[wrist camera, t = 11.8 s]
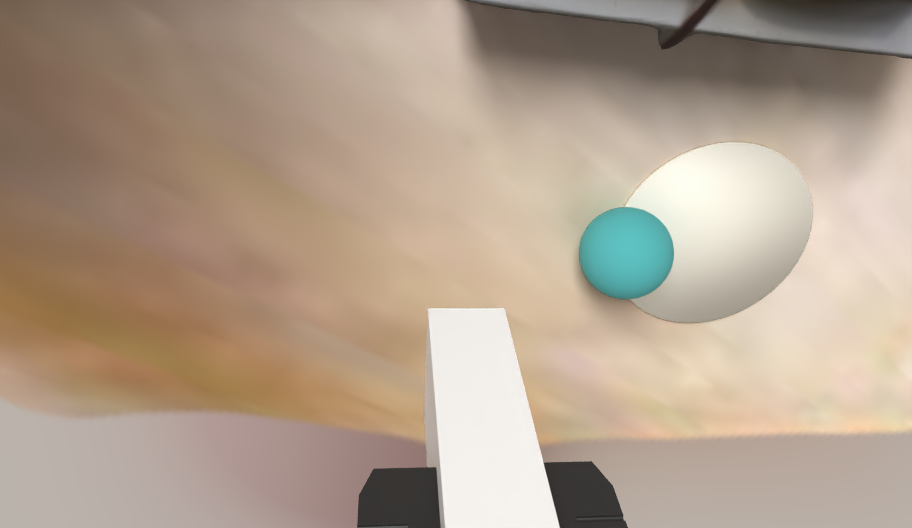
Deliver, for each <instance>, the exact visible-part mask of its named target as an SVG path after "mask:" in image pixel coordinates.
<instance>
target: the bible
mask: <svg viewBox="0 0 912 528" xmlns="http://www.w3.org/2000/svg"><path fill="white" fill-rule="evenodd" d="M466 1H469V2H474V3H479V4H483V5H489V6H496V7H501V8H506V9H515V10H523V11H530V12H537V13H550V14H558V15H565V16H572V17H580V18H588V19H594V20H601V21H613V22H620V23H633V24H640V25H646V26H650V27H654V28H656V29H658V39H659V45H660V46H661V50H662V49H668V48H670V47H672V46H674V45H676V44H678V43H679V42H681V41H682V40H684V39H685V38H687V37H689V36H691V35H693V34H709V35H716V36H724V37H731V38H738V39H745V40H752V41H757V42H764V43H774V44H784V45H794V46H804V47H813V48H823V49H832V50H841V51H851V52H860V53H870V54H879V55H891V56H897V57H901V58H911V59H912V0H466Z"/></svg>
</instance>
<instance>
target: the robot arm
mask: <svg viewBox="0 0 912 528" xmlns="http://www.w3.org/2000/svg"><path fill="white" fill-rule="evenodd" d="M424 420H425V438H426V453H427V454H426V455H427V468H389V469H373V471H372V473H371V475H370V476H369V478H368V480H367V482H366V484H365V485H364V487H363V489H362V491H361V493H360V495H359V505H358V524H357V528H628V527H627V524H626V522H625V521H624V520H623V513H622V510H621V508H620V505H619V502H618V499H617V496H616V493H615V491H614V488H613V486H612V485H611V483H610V482H609V481H608V480H607V479H606V478H605V476H604V475H603V474H602V473H601V472H600V471H599V469H598V468H597V467H596V466H595V465H594V464H593V463H592V462H554V463H553V462H551V463H543V459H542V455H541V451H540V447H539V443H538V439H537V435H536V431H535V427H534V423H533V420H532V416H531V412H530V408H529V404H528V400H527V396H526V392H525V388H524V384H523V380H522V376H521V372H520V368H519V364H518V360H517V356H516V352H515V348H514V344H513V340H512V336H511V332H510V328H509V325H508V321H507V317H506V313H505V309H504V308H428V319H427V348H426V377H425V406H424Z"/></svg>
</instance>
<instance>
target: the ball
mask: <svg viewBox="0 0 912 528" xmlns="http://www.w3.org/2000/svg"><path fill="white" fill-rule="evenodd" d="M579 260H580V265H581V268H582V271H583V273H584V275H585V277H586V278H587V280H588V281H589V282H590V283H591V284H592V285H593V286H594V287H595V288H596V289H597V290H599V291H600V292H602V293H603V294H606V295H608V296H610V297H613V298H618V299H636V298H640V297H642V296H645V295H647V294H649V293H651V292H653V291H654V290H656V289H657V288H658V287H659V286H660V285H661V284H662V283H663V282H664V281H665V280H666V278H667V276H668V275H669V273H670V271H671V268H672V265H673V260H674V247H673V241H672V238H671V236H670V233H669V231H668V230H667V228H666V227H665V225H664V224H663V223H662V222H661V221H660V220H659V219H658V218H657V217H655V216H654V215H653V214H651V213H649V212H647V211H645V210H642V209H638V208H633V207H621V208H615V209H612V210H609V211H606V212H604V213H602V214H601V215H599V216H598V217H597V218H595V219H594V220H593V221H592V222H591V223H590V224H589V226H588V227H587V228H586V230H585V232H584V234H583V236H582V239H581V242H580V247H579Z"/></svg>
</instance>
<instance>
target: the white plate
mask: <svg viewBox="0 0 912 528" xmlns="http://www.w3.org/2000/svg"><path fill="white" fill-rule="evenodd" d="M624 207H633V208H638V209H642V210H645V211H647V212H649V213H651V214H653V215H654V216H655V217H657V218H658V219H659V220H660V221H661V222H662V223H663V224H664V225H665V227H666V228H667V230H668V231H669V233H670V236H671V238H672V241H673V247H674V260H673V265H672V268H671V271H670V273H669V275H668V276H667V278H666V280H665V281H664V282H663V283H662V284H661V285H660V286H659V287H658V288H657V289H656V290H654V291H653V292H651V293H649V294H647V295H645V296H642V297H640V298H636V299H630V300H631V301H632V302H633V303H634V304H635V305H636V306H637V307H639V308H640V309H642V310H643V311H645V312H646V313H649V314H651V315H653V316H655V317H658V318H661V319H664V320H668V321H674V322H685V323H694V322H705V321H711V320H716V319H719V318H723V317H726V316H729V315H732V314H734V313H737V312H739V311H741V310H743V309H745V308H747V307H749V306H751V305H753V304H754V303H756V302H757V301H759V300H761V299H762V298H763V297H765V296H766V295H767V294H769V293H770V292H771V291H772V290H773V289H775V288H776V287H777V286H778V285H779V284H780V283H781V282H782V281H783V280H784V279H785V277H786V276H787V275H788V274H789V273H790V272H791V270H792V269H793V267H794V266H795V265H796V263H797V262H798V260H799V258H800V256H801V255H802V253H803V251H804V249H805V246H806V244H807V242H808V239H809V235H810V231H811V227H812V220H813V203H812V197H811V193H810V190H809V187H808V184H807V182H806V180H805V179H804V177H803V175H802V173H801V172H800V171H799V170H798V169H797V167H796V166H795V165H794V164H793V163H792V162H791V161H789V160H788V159H787V158H786V157H785V156H783V155H781V154H780V153H778V152H776V151H775V150H772V149H770V148H767V147H765V146H762V145H758V144H753V143H747V142H721V143H715V144H709V145H705V146H702V147H699V148H695V149H693V150H690V151H688V152H685V153H683V154H681V155H679V156H677V157H675V158H674V159H672V160H670V161H668V162H667V163H665V164H664V165H662V166H661V167H660V168H658V169H657V170H655V171H654V172H653V173H652V174H651V175H650V176H649V177H647V178H646V179H645V180H644V181H643V182H642V183H641V184H640V186H639V187H638V188H637V189H636V190H635V191H634V193H633V194H632V195H631V197H630V198H629V200H628V201H627V202H626V204H625V206H624Z"/></svg>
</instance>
